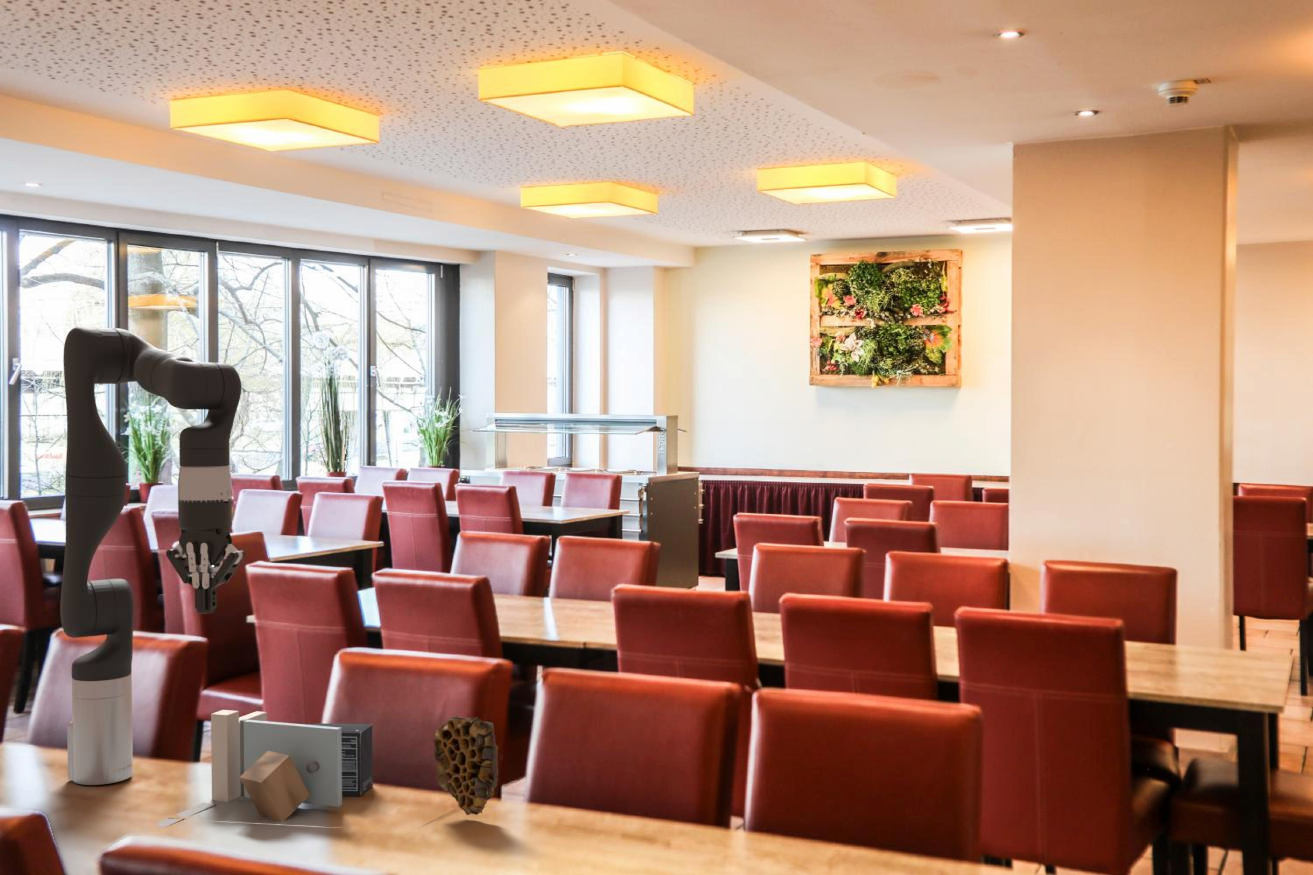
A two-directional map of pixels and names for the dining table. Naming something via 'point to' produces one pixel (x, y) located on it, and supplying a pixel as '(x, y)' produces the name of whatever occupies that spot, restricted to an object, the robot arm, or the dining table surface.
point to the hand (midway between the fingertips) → (206, 612)
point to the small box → (355, 757)
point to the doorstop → (275, 786)
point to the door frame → (222, 760)
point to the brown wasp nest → (467, 761)
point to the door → (298, 755)
